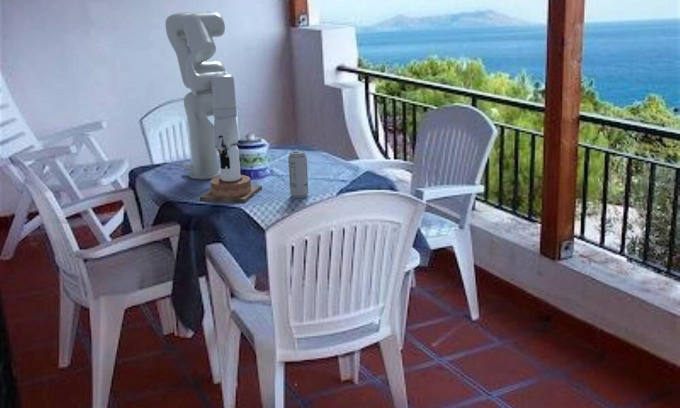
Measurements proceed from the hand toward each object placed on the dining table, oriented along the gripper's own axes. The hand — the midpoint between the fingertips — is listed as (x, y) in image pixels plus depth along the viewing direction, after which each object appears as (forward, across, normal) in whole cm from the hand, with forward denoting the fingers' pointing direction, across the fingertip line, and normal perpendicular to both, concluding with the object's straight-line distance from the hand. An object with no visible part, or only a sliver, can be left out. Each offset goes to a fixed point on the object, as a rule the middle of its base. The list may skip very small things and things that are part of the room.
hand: (229, 165), depth 245 cm
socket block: (+10, 0, 0) cm, 10 cm away
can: (+5, 0, 0) cm, 5 cm away
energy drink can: (+10, -2, +23) cm, 26 cm away
